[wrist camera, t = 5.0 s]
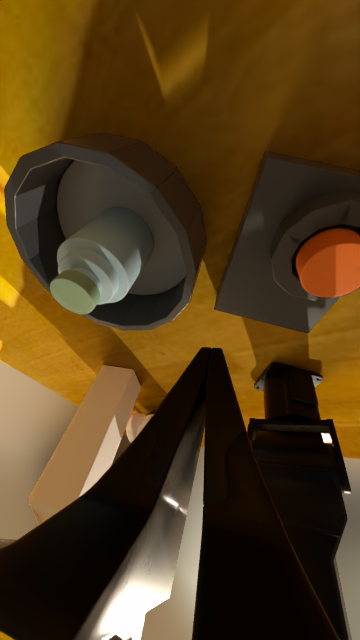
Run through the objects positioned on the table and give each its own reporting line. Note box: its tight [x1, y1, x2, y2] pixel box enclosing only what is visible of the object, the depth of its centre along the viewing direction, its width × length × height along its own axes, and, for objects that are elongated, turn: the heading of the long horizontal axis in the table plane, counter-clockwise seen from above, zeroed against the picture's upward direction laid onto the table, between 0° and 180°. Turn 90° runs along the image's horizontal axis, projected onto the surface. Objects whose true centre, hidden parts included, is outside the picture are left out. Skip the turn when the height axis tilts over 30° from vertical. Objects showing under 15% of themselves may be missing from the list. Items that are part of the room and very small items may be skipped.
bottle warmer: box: [4, 133, 206, 331], centre depth 18 cm, size 14×14×5 cm
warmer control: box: [214, 151, 360, 333], centre depth 16 cm, size 12×9×4 cm
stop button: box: [296, 228, 360, 297], centre depth 13 cm, size 4×4×2 cm
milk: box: [28, 365, 141, 525], centre depth 32 cm, size 6×6×22 cm
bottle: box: [50, 207, 154, 314], centre depth 17 cm, size 5×5×9 cm
